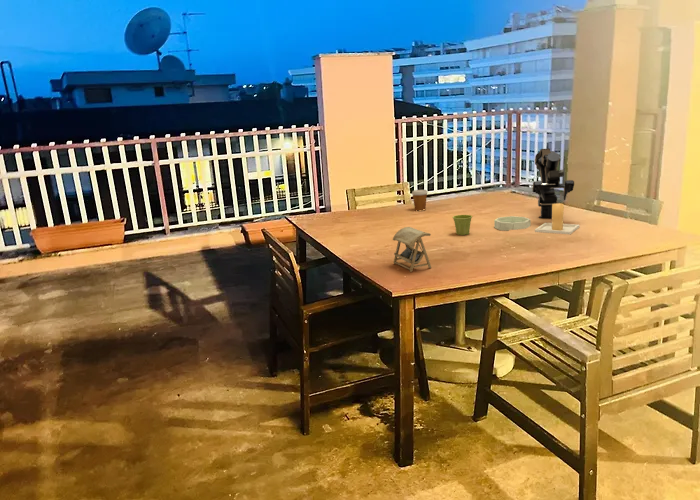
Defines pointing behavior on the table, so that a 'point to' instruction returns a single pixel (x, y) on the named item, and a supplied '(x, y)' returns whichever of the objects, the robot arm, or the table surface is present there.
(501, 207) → the table surface
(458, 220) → the plant pot
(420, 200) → the disposable coffee cup
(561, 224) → the orange tapered cylinder
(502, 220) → the sage bowl
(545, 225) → the parts tray
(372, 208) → the table surface
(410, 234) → the swing bench
